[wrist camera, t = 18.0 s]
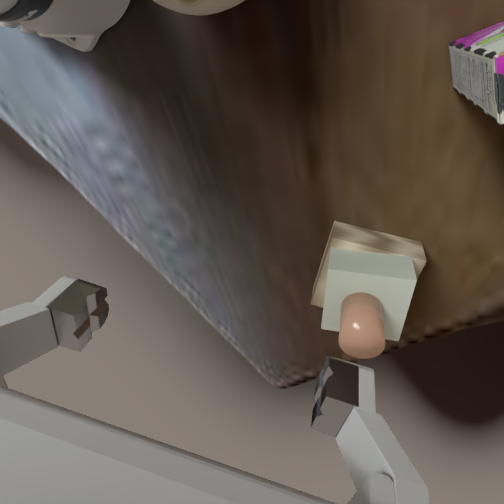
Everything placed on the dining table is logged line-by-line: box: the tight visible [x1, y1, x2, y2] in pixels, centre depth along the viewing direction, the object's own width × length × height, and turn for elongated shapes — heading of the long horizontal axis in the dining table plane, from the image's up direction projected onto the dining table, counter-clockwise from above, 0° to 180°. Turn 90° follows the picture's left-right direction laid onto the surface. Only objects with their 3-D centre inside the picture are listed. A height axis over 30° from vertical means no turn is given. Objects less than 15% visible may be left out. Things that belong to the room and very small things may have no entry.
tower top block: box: [321, 247, 417, 341], centre depth 47 cm, size 10×10×5 cm
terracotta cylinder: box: [339, 292, 385, 359], centre depth 42 cm, size 5×5×6 cm
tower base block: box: [311, 221, 427, 308], centre depth 51 cm, size 12×12×5 cm
